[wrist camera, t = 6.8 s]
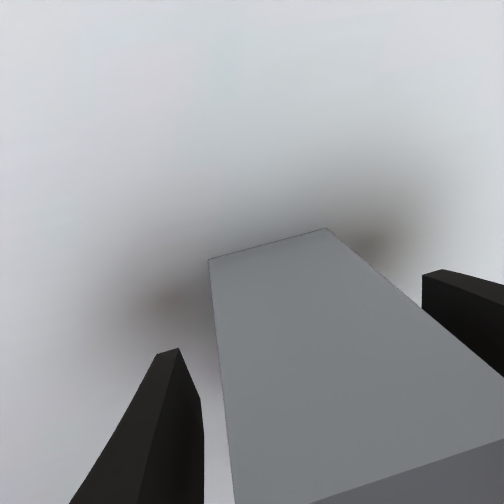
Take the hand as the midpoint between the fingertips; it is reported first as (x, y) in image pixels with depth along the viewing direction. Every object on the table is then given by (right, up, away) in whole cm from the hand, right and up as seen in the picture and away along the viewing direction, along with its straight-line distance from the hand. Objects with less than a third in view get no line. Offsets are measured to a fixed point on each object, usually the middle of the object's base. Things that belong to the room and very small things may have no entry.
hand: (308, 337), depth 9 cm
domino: (-1, +2, +4) cm, 5 cm away
